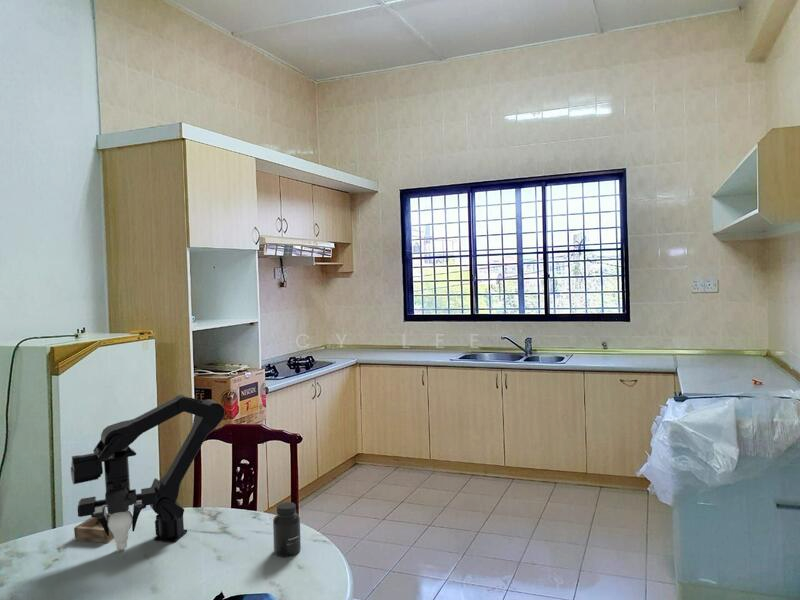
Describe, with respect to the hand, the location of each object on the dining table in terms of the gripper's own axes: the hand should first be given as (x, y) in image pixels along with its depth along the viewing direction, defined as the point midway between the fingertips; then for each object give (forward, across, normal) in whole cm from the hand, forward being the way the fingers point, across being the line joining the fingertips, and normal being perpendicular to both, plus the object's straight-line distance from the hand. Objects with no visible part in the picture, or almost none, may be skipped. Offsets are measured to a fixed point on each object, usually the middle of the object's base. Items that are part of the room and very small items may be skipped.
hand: (120, 533), depth 162 cm
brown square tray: (+4, -5, +13) cm, 15 cm away
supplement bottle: (+5, +39, -20) cm, 44 cm away
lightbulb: (+5, 0, 0) cm, 5 cm away
